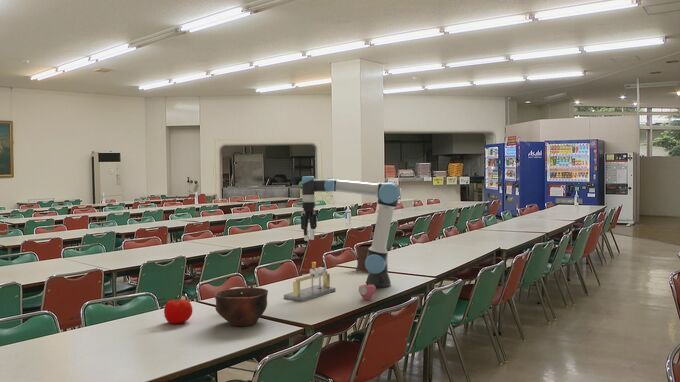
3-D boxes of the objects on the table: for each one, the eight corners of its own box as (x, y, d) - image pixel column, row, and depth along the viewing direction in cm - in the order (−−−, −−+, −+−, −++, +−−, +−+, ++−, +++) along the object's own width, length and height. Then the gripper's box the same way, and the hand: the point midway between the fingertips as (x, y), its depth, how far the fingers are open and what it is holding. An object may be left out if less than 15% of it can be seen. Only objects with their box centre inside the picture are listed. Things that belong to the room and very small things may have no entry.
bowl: (248, 313, 278) (248, 283, 277) (279, 322, 260) (278, 291, 259) (205, 323, 260) (204, 292, 259) (234, 334, 242) (233, 300, 242)
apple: (355, 300, 302) (355, 282, 301) (365, 297, 308) (365, 279, 307) (369, 302, 295) (368, 284, 295) (379, 299, 301) (378, 281, 301)
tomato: (169, 319, 269) (168, 295, 269) (196, 318, 269) (195, 295, 269) (160, 326, 257) (159, 302, 257) (188, 326, 257) (187, 301, 256)
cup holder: (382, 271, 383) (381, 236, 382) (348, 272, 383) (347, 236, 382) (380, 266, 402) (380, 232, 401) (347, 267, 402) (347, 233, 401)
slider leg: (318, 290, 317) (318, 262, 316) (315, 291, 315) (314, 262, 314) (313, 289, 320) (312, 261, 319) (310, 290, 317) (309, 262, 316)
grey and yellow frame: (335, 291, 324) (335, 267, 324) (302, 301, 300) (302, 275, 300) (317, 288, 333) (316, 265, 332) (283, 298, 309) (283, 273, 308)
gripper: (312, 200, 339) (313, 238, 340) (294, 202, 325) (294, 241, 326) (322, 200, 335) (323, 238, 336) (303, 202, 321) (304, 242, 322)
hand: (309, 240), depth 331 cm, fingers open, 4 cm apart
